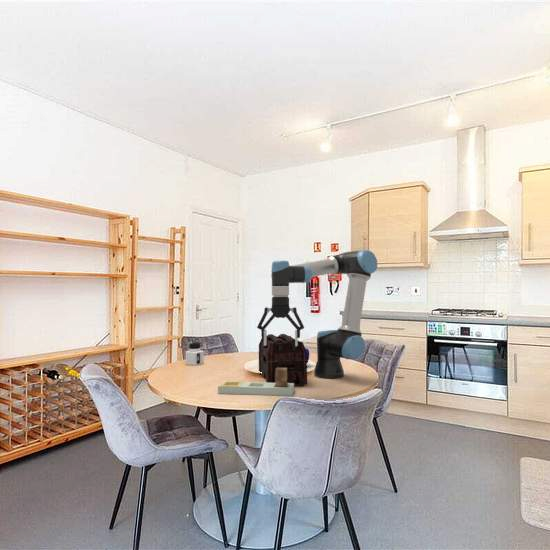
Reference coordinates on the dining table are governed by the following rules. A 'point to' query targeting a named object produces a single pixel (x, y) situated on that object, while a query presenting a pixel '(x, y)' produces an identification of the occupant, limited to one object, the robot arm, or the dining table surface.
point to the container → (194, 354)
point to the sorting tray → (254, 388)
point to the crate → (283, 359)
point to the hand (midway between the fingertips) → (280, 345)
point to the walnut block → (281, 377)
